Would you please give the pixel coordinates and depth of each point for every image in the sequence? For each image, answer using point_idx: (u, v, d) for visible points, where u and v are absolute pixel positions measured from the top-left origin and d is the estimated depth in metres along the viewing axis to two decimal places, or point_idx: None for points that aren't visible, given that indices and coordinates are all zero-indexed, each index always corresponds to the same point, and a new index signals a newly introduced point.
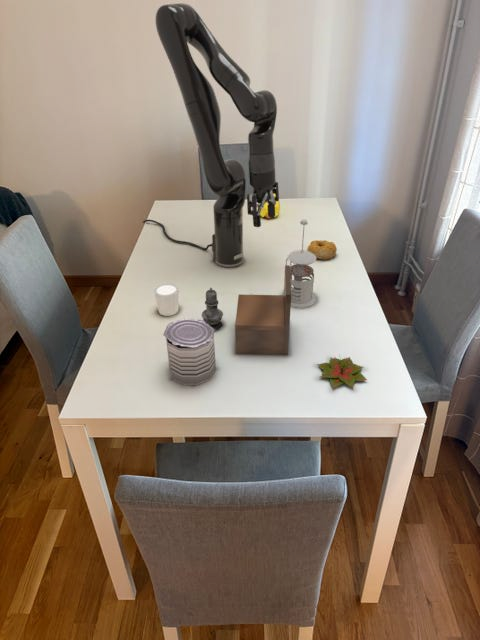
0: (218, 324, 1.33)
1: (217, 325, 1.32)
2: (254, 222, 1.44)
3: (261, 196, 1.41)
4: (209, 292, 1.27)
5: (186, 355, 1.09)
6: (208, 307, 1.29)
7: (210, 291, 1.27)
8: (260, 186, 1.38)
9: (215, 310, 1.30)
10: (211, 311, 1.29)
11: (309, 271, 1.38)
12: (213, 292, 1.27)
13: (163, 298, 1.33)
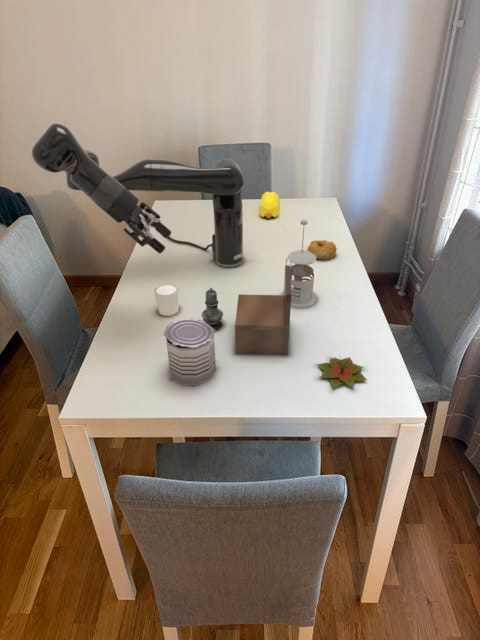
0: (218, 324, 1.33)
1: (217, 325, 1.32)
2: (156, 249, 1.17)
3: (138, 220, 1.15)
4: (209, 292, 1.27)
5: (186, 355, 1.09)
6: (208, 307, 1.29)
7: (210, 291, 1.27)
8: (127, 212, 1.13)
9: (215, 310, 1.30)
10: (211, 311, 1.29)
11: (309, 271, 1.38)
12: (213, 292, 1.27)
13: (163, 298, 1.33)
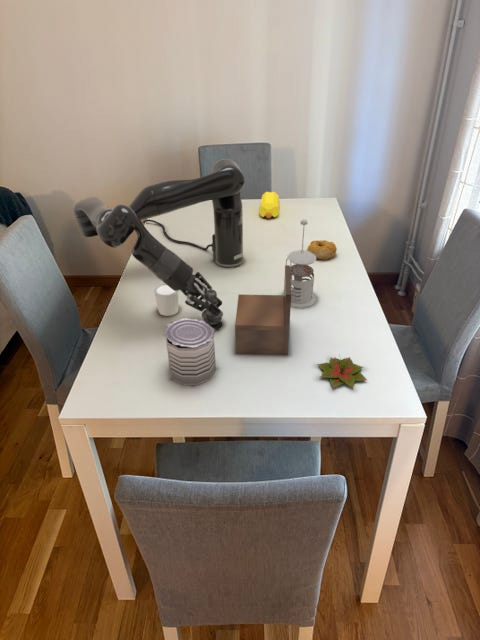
0: (218, 324, 1.33)
1: (217, 325, 1.32)
2: (213, 312, 1.28)
3: (193, 289, 1.24)
4: (209, 292, 1.27)
5: (186, 355, 1.09)
6: None
7: (210, 290, 1.27)
8: (184, 282, 1.22)
9: None
10: None
11: (309, 271, 1.38)
12: (213, 292, 1.27)
13: (163, 298, 1.33)
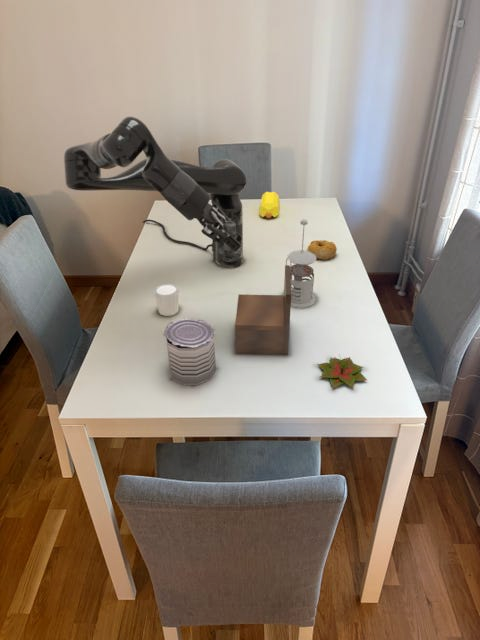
0: (237, 262, 1.19)
1: (236, 263, 1.18)
2: (232, 246, 1.14)
3: (210, 218, 1.10)
4: (228, 223, 1.13)
5: (186, 355, 1.09)
6: None
7: (229, 221, 1.13)
8: (200, 209, 1.08)
9: None
10: None
11: (309, 271, 1.38)
12: (232, 223, 1.13)
13: (163, 298, 1.33)
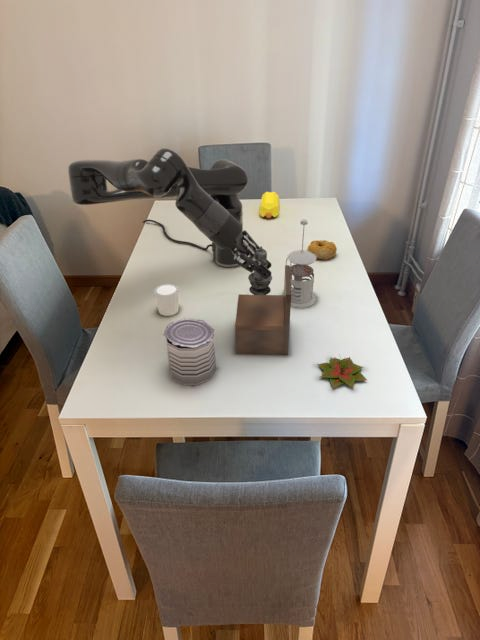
0: (266, 289, 1.20)
1: (265, 290, 1.19)
2: (263, 274, 1.14)
3: (242, 247, 1.11)
4: (259, 251, 1.13)
5: (186, 355, 1.09)
6: None
7: (260, 250, 1.14)
8: (233, 239, 1.09)
9: None
10: None
11: (309, 271, 1.38)
12: (263, 251, 1.14)
13: (163, 298, 1.33)
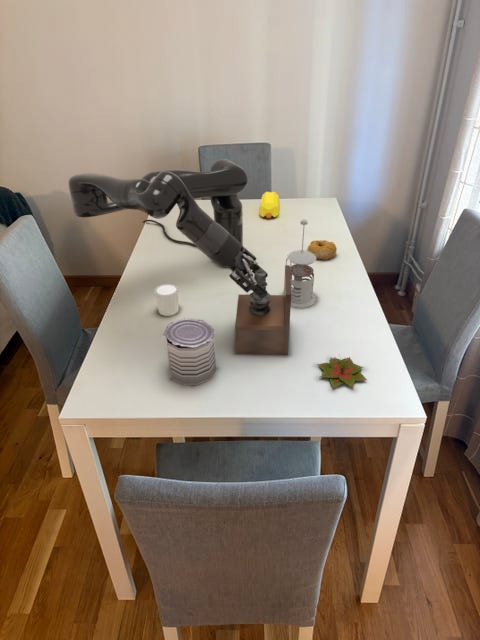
0: (266, 308, 1.23)
1: (265, 309, 1.22)
2: (259, 294, 1.15)
3: (241, 266, 1.13)
4: (258, 272, 1.17)
5: (186, 355, 1.09)
6: None
7: (259, 271, 1.17)
8: (232, 258, 1.12)
9: None
10: None
11: (309, 271, 1.38)
12: (262, 272, 1.17)
13: (163, 298, 1.33)
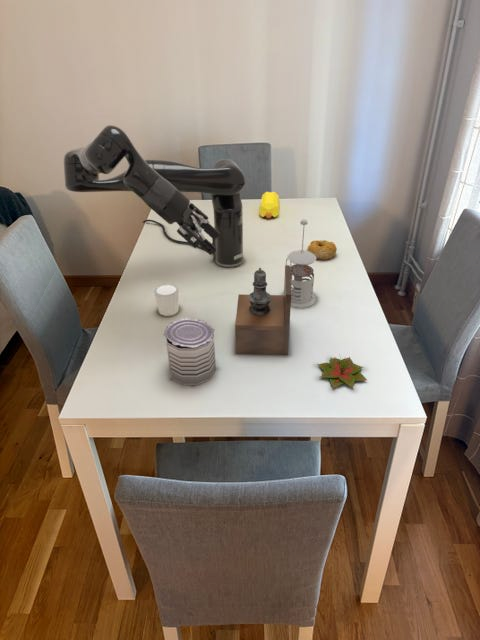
0: (266, 308, 1.23)
1: (265, 309, 1.22)
2: (208, 250, 1.16)
3: (190, 222, 1.14)
4: (258, 272, 1.17)
5: (186, 355, 1.09)
6: (256, 289, 1.19)
7: (259, 271, 1.17)
8: (180, 213, 1.13)
9: (264, 293, 1.20)
10: (260, 293, 1.19)
11: (309, 271, 1.38)
12: (262, 272, 1.17)
13: (163, 298, 1.33)
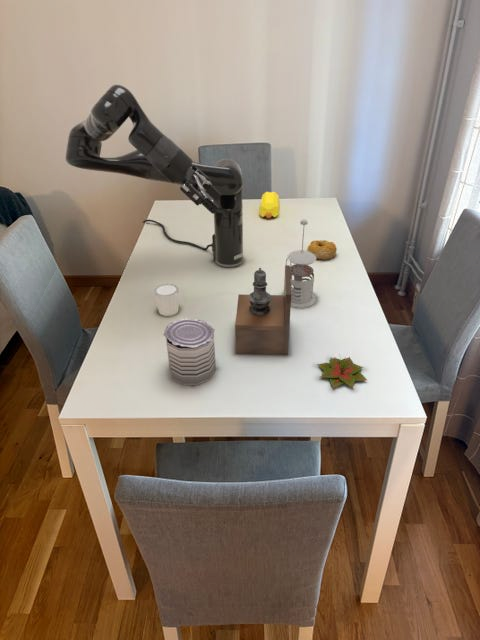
0: (266, 308, 1.23)
1: (265, 309, 1.22)
2: (209, 208, 1.20)
3: (192, 180, 1.18)
4: (258, 272, 1.17)
5: (186, 355, 1.09)
6: (256, 289, 1.19)
7: (259, 271, 1.17)
8: (183, 171, 1.16)
9: (264, 293, 1.20)
10: (260, 293, 1.19)
11: (309, 271, 1.38)
12: (262, 272, 1.17)
13: (163, 298, 1.33)
